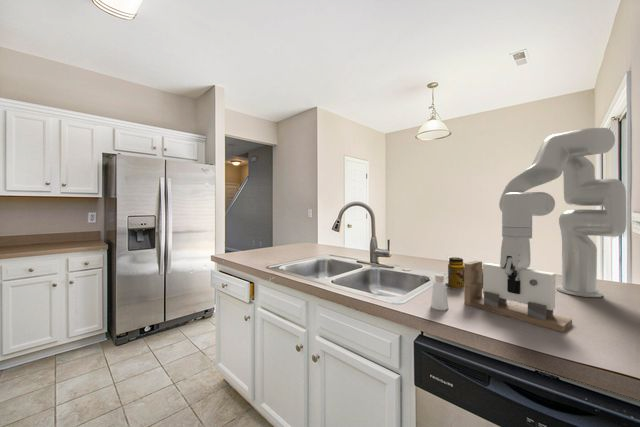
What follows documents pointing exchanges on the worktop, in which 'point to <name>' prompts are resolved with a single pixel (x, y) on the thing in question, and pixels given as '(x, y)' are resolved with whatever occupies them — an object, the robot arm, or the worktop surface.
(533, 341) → the worktop surface
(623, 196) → the robot arm
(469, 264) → the cabinet base
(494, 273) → the door panel
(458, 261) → the condiment
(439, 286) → the pepper shaker
